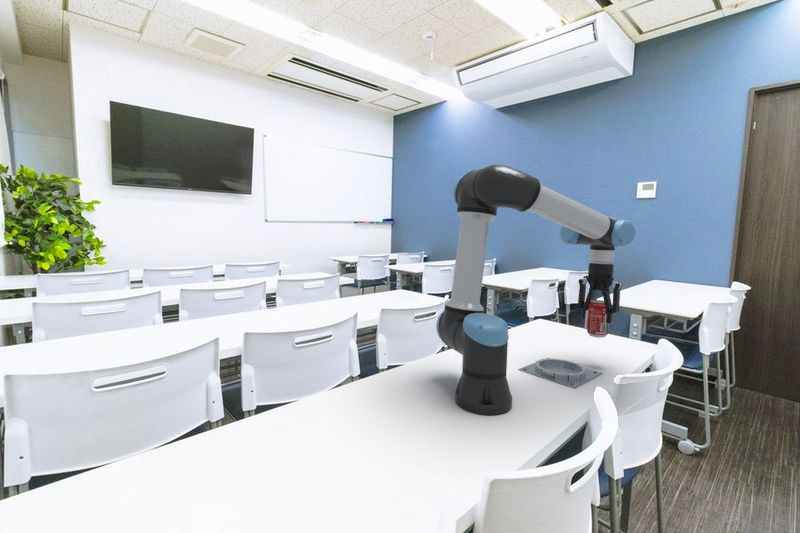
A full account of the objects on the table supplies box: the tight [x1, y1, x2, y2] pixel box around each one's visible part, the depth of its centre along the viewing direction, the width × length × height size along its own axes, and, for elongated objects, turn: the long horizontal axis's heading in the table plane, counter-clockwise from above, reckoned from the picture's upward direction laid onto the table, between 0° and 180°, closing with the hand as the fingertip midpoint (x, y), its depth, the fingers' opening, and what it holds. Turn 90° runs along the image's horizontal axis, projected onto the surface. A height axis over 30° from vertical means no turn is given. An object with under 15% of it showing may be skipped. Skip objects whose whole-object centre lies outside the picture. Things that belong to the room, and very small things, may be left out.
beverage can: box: [586, 299, 609, 339], centre depth 132 cm, size 6×6×12 cm
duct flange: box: [517, 357, 603, 389], centre depth 128 cm, size 19×19×2 cm
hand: (596, 330), depth 132 cm, fingers closed on beverage can, 5 cm apart
